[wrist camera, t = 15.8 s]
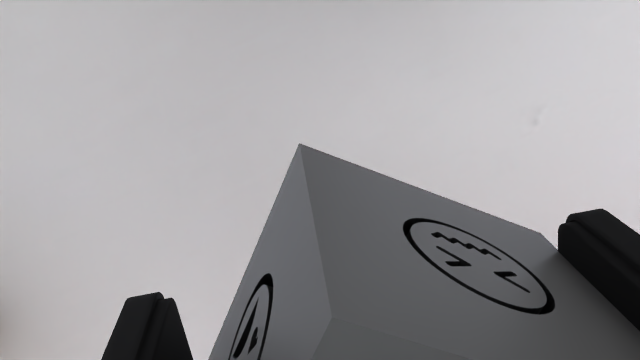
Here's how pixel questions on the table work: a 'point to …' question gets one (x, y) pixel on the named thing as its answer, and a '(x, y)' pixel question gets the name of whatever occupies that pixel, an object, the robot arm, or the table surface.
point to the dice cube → (408, 280)
